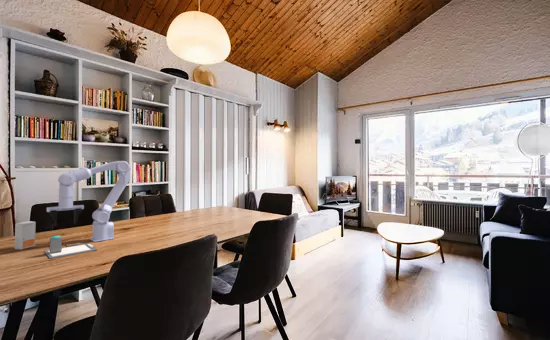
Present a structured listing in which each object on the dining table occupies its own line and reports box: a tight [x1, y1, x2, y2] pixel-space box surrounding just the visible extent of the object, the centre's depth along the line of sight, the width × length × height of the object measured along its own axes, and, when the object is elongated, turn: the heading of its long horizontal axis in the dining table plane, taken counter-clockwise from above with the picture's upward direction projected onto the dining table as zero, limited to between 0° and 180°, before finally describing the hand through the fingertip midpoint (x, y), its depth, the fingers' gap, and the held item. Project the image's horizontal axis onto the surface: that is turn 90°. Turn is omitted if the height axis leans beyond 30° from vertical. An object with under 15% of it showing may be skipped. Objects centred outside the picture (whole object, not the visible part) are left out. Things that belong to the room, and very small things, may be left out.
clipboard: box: [43, 243, 98, 260], centre depth 124 cm, size 17×14×1 cm
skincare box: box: [14, 220, 37, 250], centre depth 127 cm, size 6×4×12 cm
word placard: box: [65, 241, 83, 247], centre depth 133 cm, size 6×4×1 cm, turn 139°
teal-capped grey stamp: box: [49, 235, 63, 254], centre depth 120 cm, size 4×4×7 cm
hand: (65, 224), depth 133 cm, fingers open, 7 cm apart
